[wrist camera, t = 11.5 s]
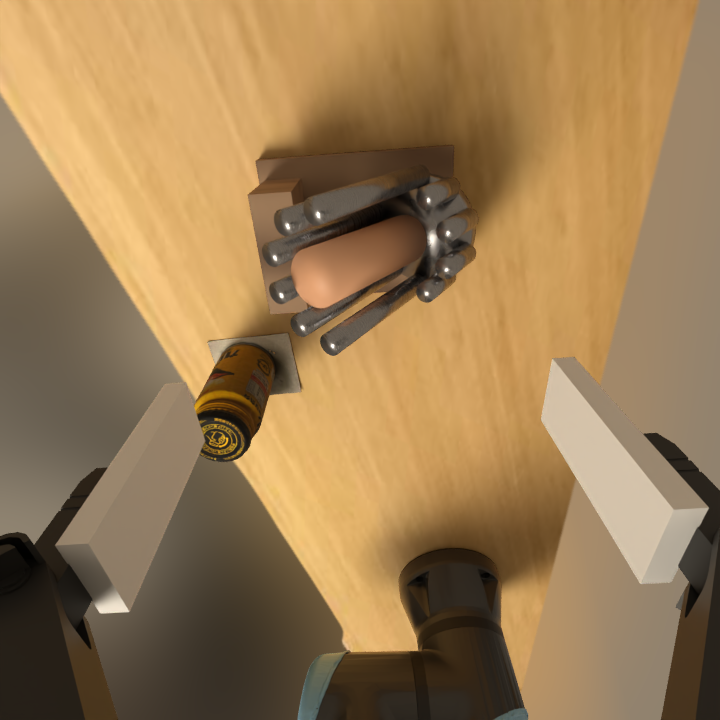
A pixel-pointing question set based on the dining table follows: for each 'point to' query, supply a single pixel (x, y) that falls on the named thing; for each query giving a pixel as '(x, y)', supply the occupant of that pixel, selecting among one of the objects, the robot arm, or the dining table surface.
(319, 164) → the socket base
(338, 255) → the peg
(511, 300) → the dining table surface
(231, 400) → the condiment
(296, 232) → the socket
